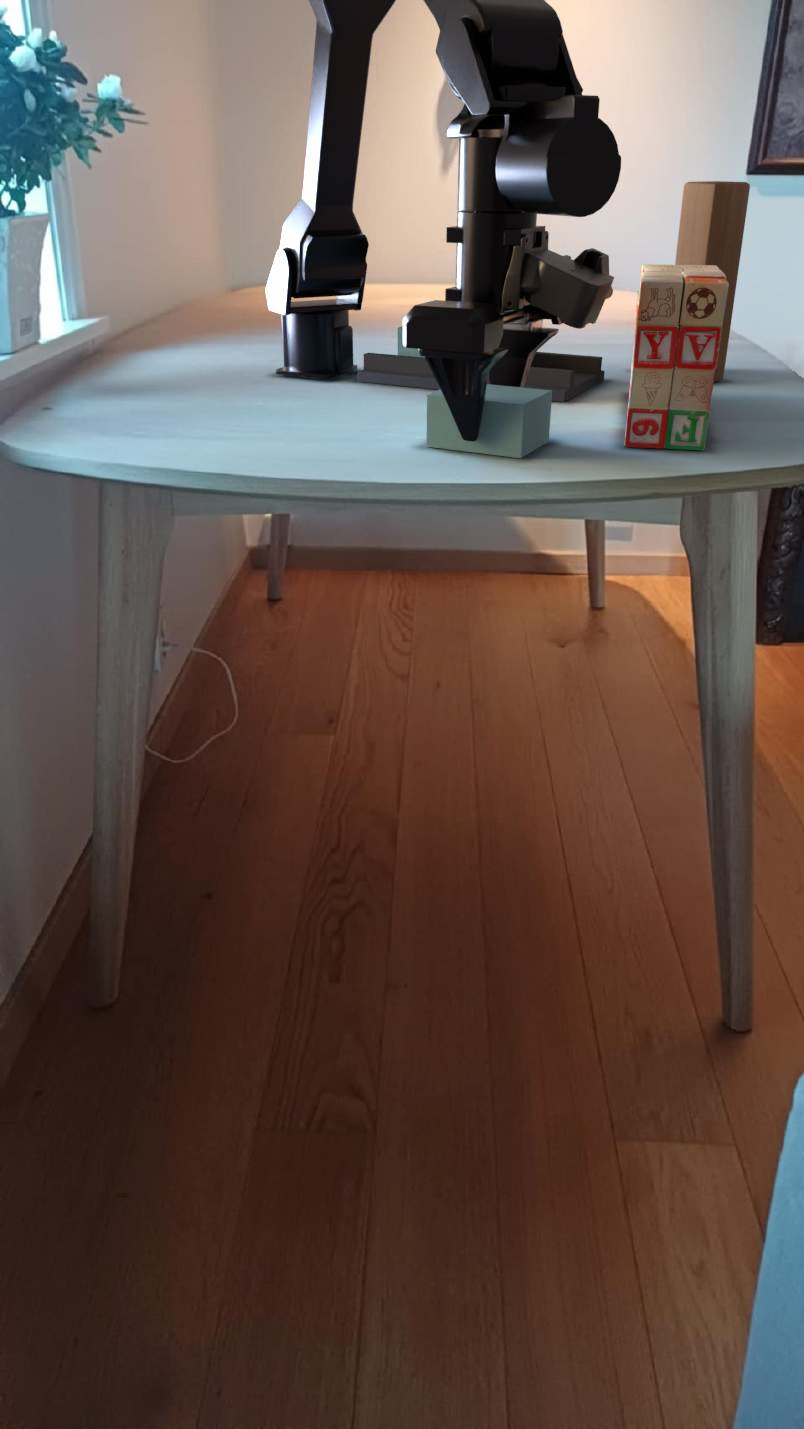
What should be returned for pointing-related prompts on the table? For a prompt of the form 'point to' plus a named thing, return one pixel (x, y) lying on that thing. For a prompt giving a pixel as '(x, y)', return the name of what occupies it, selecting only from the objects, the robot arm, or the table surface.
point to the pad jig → (545, 373)
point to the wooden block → (714, 238)
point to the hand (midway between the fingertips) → (488, 431)
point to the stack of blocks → (675, 355)
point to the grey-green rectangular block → (495, 422)
